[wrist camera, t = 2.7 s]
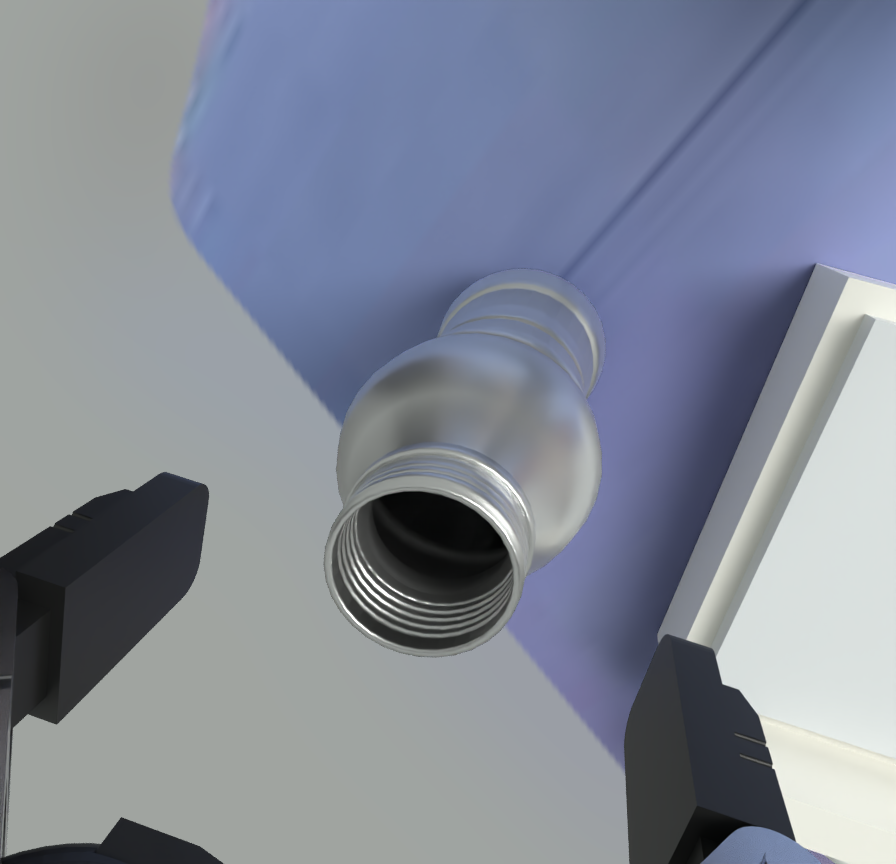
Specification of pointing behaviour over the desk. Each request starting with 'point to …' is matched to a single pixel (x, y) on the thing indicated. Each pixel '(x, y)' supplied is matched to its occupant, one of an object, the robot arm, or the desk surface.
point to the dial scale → (814, 569)
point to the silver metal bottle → (468, 466)
